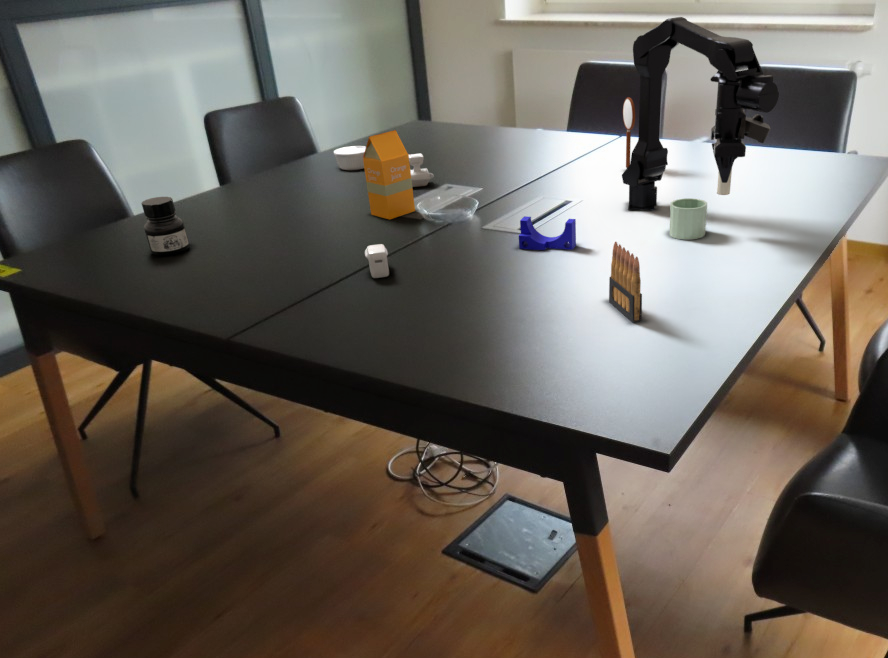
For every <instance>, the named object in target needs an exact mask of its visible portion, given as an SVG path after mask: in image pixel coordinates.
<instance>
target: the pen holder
mask: <svg viewBox="0 0 888 658" xmlns="http://www.w3.org/2000/svg"><path fill="white" fill-rule="evenodd" d="M669 208H670V210H669V231H668V232H669V236H670V237H671V238H674V239H677V240H685V241H687V240H690V241H691V240H697V239H702V238H704V237H705V235H706V229H707V214H708V202H707V201H706V200H703V199H700V198H694V197H693V198H692V197H691V198H689V197H688V198H687V197H686V198H679V199H675V200H673V201H671V202H670V207H669Z"/></svg>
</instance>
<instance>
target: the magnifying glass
mask: <svg viewBox="0 0 888 658" xmlns="http://www.w3.org/2000/svg"><path fill="white" fill-rule="evenodd" d="M622 105H623V106H622V121H623V125H624V127H625V129H626V136H625V138H626V139H625V140H626V141H625V145H626V146H625V168H626V169H627V168H628V167H629V165H630V162H631V142H632V141H631V139H632V137H631V135H632V131H631V130H633V128H634V127H635V123H636V107H635V103H634V101H633V99H632V97H629V96H628V97H626V98H625V99H624V100H623V104H622Z"/></svg>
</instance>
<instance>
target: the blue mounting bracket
mask: <svg viewBox="0 0 888 658" xmlns="http://www.w3.org/2000/svg"><path fill="white" fill-rule="evenodd" d="M576 221H577V220H576V218H568V219H567V220H566V221H565V222H564V229H563V231H562V233H561V234H559V235H557V236H546V235H544V234H542V233H540V232H539V231H538V230H537V229H536V228H535V227H534V225H533V222H532V217H531V216H523V217H522V218H521V219H520V221H519V225H520V227H519V228H520V233H519V234H518V248H519V249H520V250H534V251H546V250H547V249H555V250H574V249H575V247H576V246H577V226H576V225H577V222H576Z"/></svg>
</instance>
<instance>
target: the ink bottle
mask: <svg viewBox="0 0 888 658" xmlns="http://www.w3.org/2000/svg"><path fill="white" fill-rule="evenodd" d="M140 204H141V206H142V211H143V213H144V214H143V215H144V216H145V219H146V222H145V223H144V226H143V229H144V233H145V236H146V240H147V244H148V246H149V250H150V252H151V254H152V255H155V256H161V257H164V256H172V255H176V254H181V253H183V252H185V251H187V250H188V249H189V248H190V242H189V238H188V235H187V231H186V227H185V223H184V221H183V220H182V218H180V217H178V216H177V215H176V214H177V212H176V207H175V204H174V200H173V198H172V197H171V196H155V197H151V198H147V199H145V200H143V201H141V203H140Z"/></svg>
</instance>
